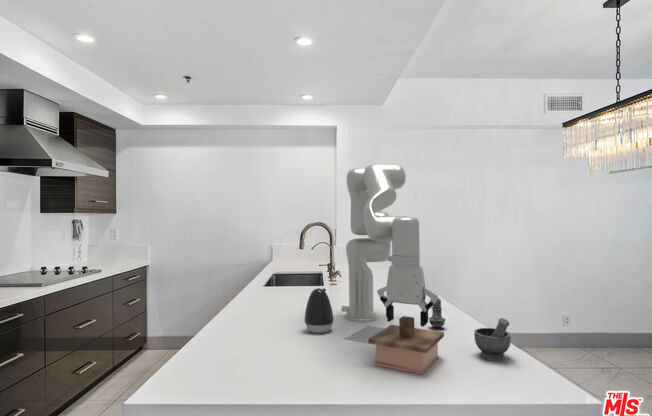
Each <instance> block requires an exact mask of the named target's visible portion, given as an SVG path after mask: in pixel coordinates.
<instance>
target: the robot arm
mask: <svg viewBox="0 0 652 416" xmlns="http://www.w3.org/2000/svg"><path fill="white" fill-rule="evenodd" d="M406 177H407V176H406V172H405V170H404V168H403V166H402V165H400V164H397V163H373V164H372V163H371V164H369V165H368V166H366V167H357V168H352V169H350V170H349V171H348V172H347V174H346V186H347V187H346V188H347V191H348V194H349V197H350V230H351V233H352V234H354V235H356V236H368V237H359V238H358V237H357V238H352V239H350V240H349V241H348V242H347V244H346V247H345V252H346V258H347V267H348V303H349V304H348V305H342V306H341V312H346V314H345V319H346V321H350V322H353V323H370V322H375V321H377V320H378V317H379V316H378V315H377V314H376V313H375V312H374V275H373V271H372V269H371V268H370V267H369V266H368V264H367V263H382V262H386V261H389V262H391V265H389V266H388V272H387V278H386V279H387V280H386V285H385V286H383V287H382V288H379V289H377V290H376V292H377V295H378V297H379V300H380V301H381V303H382V304H383V306H384V307H385V317H386V321H387V322H392V321H393V320H394V318H395V316H394V315H395V314H394V311H395V310H394V309H395V308H394V304H393V303H396V304H405V305H407V304H408V305H416V306H417V305H418V307H419V308H420V309H421V311H420V313H419V314H420V315H419V317H420V322H419V323H420V326H421V327H422V328H424V327H425V326H427V324H429V310H431V309H432V307H433V305H434V304H435V302H436V300H437V298H439V297H438V296H439V295H437V294H436V293H434V292H432V291H431V290H430V289H428V288H426V282H425V275H424V269H423V266H421V264H420V263H421V261H420V258H421V255H420V222H419V219H418V218H417V217H412V216H411V217H410V216H406V215H405V216H404V215H396V216H395V215H390V214H389V212H387V211H383V210H384V209H386V208H389V207H390V206H392V205H393V204H394V202H395V201H396V200H397V195H398V194H397V191H396V190H399V189H401V188H402V187H403V186H405V184H406ZM385 292H386V295H385ZM427 297H428V298H430V299H429V302H427V301H426V298H427Z"/></svg>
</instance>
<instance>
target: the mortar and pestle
mask: <svg viewBox="0 0 652 416" xmlns="http://www.w3.org/2000/svg"><path fill="white" fill-rule="evenodd" d="M509 326H510V322H509V320H508V319H506V318H504V317H502V318H501V317H500V318H499V319H498V323H497V325H496V327H495V328H493V327H480V328H476V329H474V330H473V331H474V332H473V333H474V343H475V345H476V346H477V348H478V350H480V352H481V353H480V356H481V359H484V360H488V361H493V362H496V361H497V362H501V361H503V359H504V360H505V356H504V353H506V352H507V351H508V350H509V348H510V346H511V341H512V340H511V333H510V332H509V331H507V330H508V329H507V328H508V327H509Z"/></svg>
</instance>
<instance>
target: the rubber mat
mask: <svg viewBox="0 0 652 416" xmlns="http://www.w3.org/2000/svg"><path fill="white" fill-rule="evenodd" d="M385 328H386V327H378V326H372V325H366V326H365V327H363V328H361V329H359V330H357V331H355V332H353V333H352V334H350V335H348V336H346V337H344V338H343V340H345V341H352V342H357V343H363V344H369V345H371V344H370V343H369V338H371V337H372V336H374V335H375V334H377V333H379V332H380V331H382V330H384V329H385ZM373 345H375V346H376V344H373Z"/></svg>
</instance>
